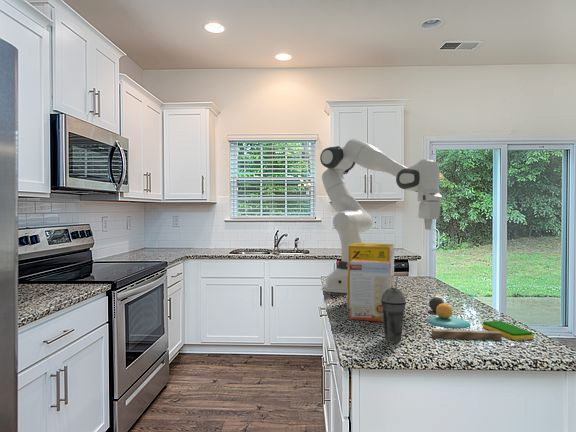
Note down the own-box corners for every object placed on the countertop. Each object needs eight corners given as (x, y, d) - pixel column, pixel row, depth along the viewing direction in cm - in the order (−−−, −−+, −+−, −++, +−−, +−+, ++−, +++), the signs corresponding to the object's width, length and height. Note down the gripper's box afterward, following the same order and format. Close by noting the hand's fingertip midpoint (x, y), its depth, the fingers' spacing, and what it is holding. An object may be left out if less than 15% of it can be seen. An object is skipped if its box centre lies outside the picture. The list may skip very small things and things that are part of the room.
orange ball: (433, 313, 147) (437, 321, 142) (435, 300, 146) (439, 308, 140) (449, 313, 147) (453, 322, 142) (450, 300, 145) (455, 308, 140)
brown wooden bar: (433, 337, 122) (433, 331, 122) (431, 335, 124) (431, 329, 124) (501, 339, 120) (501, 333, 120) (498, 337, 122) (498, 331, 122)
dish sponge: (513, 341, 120) (513, 333, 120) (481, 328, 134) (482, 321, 134) (533, 340, 122) (533, 332, 122) (500, 327, 135) (500, 320, 135)
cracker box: (390, 319, 143) (391, 260, 142) (389, 323, 137) (390, 262, 137) (351, 315, 147) (352, 259, 147) (348, 319, 141) (349, 260, 141)
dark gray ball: (427, 295, 157) (427, 308, 157) (431, 299, 151) (431, 313, 152) (441, 295, 156) (441, 309, 157) (446, 299, 151) (445, 313, 151)
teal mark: (433, 327, 132) (433, 326, 132) (422, 316, 146) (422, 315, 146) (477, 328, 131) (477, 328, 131) (462, 317, 145) (462, 317, 145)
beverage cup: (377, 336, 122) (378, 271, 122) (400, 336, 123) (401, 271, 122) (385, 344, 115) (385, 275, 115) (409, 344, 115) (410, 275, 115)
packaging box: (355, 299, 173) (355, 242, 173) (393, 303, 167) (394, 244, 167) (347, 308, 158) (347, 245, 158) (388, 312, 152) (389, 247, 152)
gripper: (415, 198, 181) (414, 228, 181) (427, 196, 160) (426, 230, 160) (429, 198, 180) (428, 228, 180) (443, 196, 160) (442, 230, 160)
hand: (428, 229), depth 170 cm, fingers closed
